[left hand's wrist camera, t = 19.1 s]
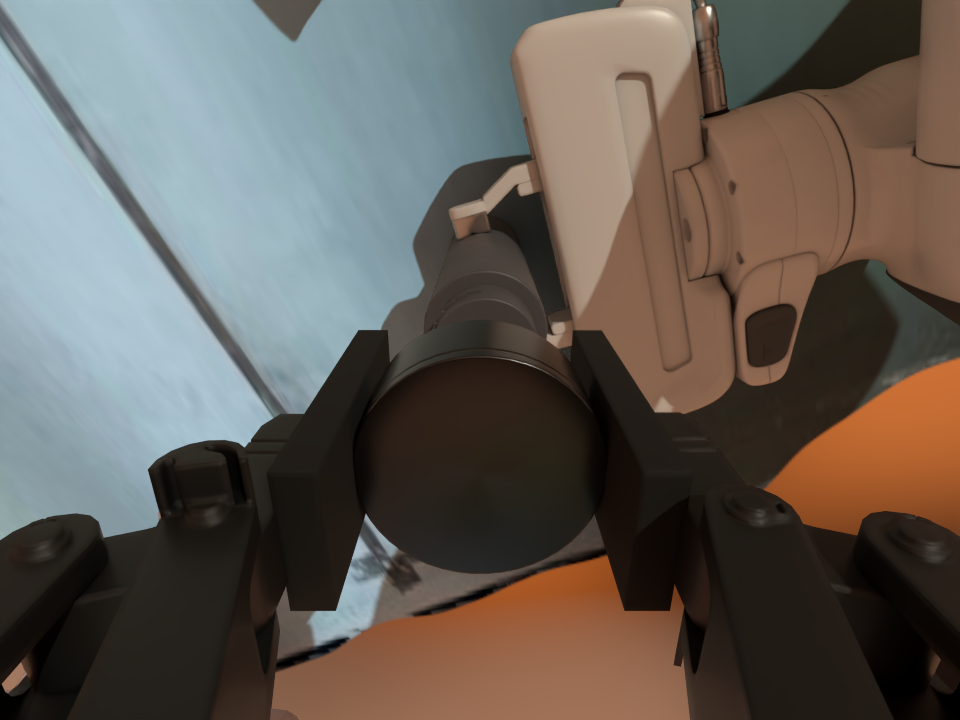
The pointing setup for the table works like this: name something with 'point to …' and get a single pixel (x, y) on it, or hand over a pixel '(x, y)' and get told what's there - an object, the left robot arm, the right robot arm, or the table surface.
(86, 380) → the table surface
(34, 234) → the table surface
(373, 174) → the table surface
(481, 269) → the dark brown cylinder
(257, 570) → the left robot arm
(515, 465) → the lid
